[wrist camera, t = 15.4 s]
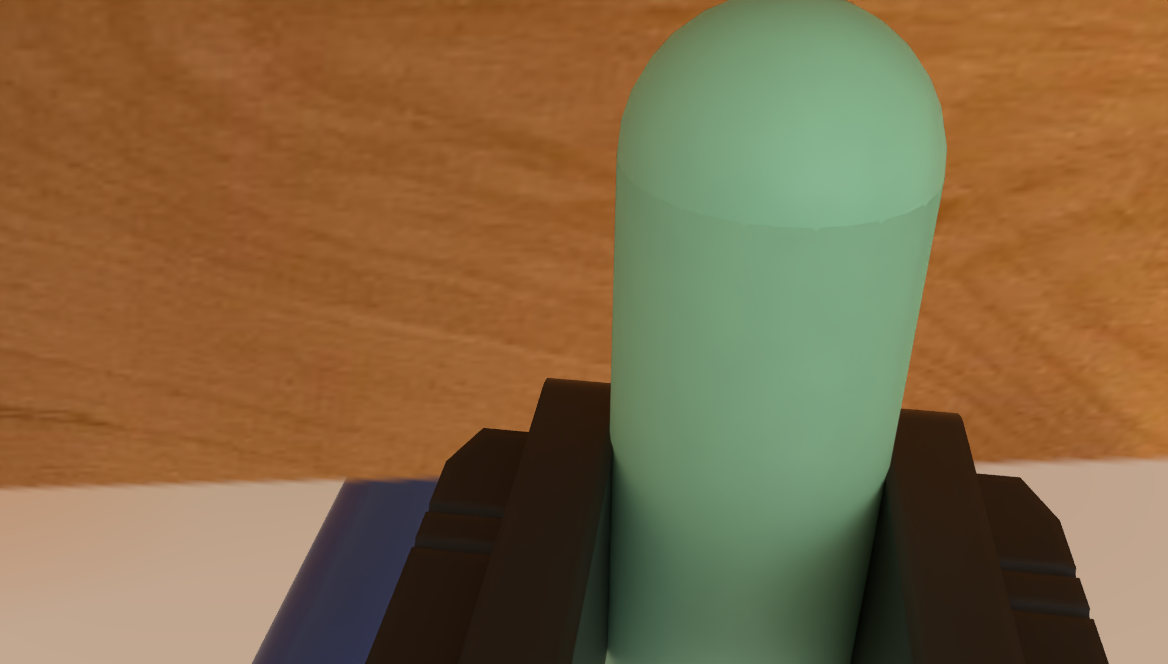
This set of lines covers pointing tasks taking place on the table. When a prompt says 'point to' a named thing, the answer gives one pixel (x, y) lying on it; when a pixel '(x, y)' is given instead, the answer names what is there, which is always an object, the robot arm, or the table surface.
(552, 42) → the table surface
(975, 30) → the table surface
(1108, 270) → the table surface
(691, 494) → the mint green pill
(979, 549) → the robot arm
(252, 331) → the table surface
